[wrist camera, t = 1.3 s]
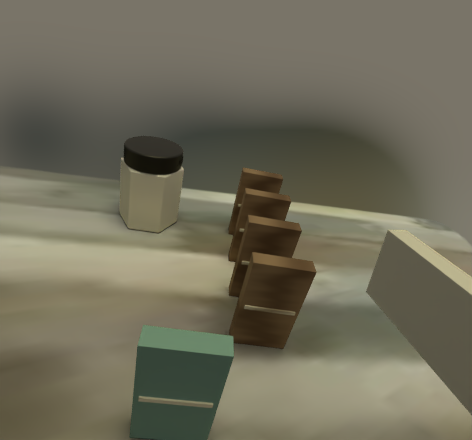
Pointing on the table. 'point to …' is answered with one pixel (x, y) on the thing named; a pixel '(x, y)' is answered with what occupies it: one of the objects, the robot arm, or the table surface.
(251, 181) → the domino
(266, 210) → the domino
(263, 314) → the domino
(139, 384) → the domino teal
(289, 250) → the domino
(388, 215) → the table surface
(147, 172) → the jar
